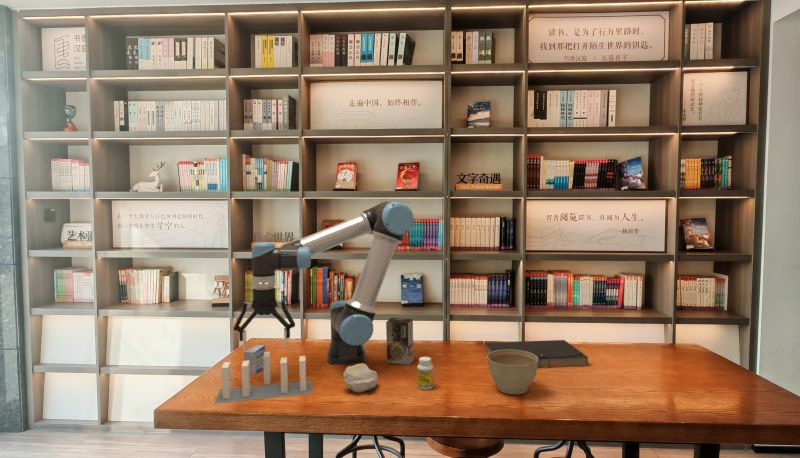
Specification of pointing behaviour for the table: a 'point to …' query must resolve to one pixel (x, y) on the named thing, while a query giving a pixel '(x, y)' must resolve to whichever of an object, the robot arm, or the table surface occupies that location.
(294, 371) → the table surface
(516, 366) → the planter bowl
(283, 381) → the domino
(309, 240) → the robot arm
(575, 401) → the table surface
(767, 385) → the table surface
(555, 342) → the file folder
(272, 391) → the mat
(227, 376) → the domino
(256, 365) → the medicine box
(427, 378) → the supplement bottle
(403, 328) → the coffee box
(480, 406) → the table surface
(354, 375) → the fossil replica
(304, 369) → the domino
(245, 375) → the domino
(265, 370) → the domino
